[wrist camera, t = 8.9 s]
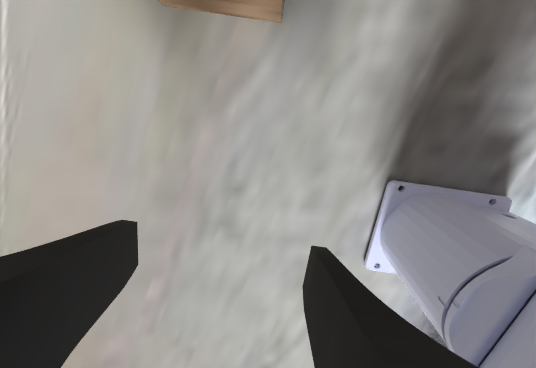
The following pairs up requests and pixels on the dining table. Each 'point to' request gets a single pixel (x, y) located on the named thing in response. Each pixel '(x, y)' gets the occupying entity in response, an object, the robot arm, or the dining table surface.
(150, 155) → the dining table surface
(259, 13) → the brown square slab
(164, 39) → the dining table surface
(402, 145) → the dining table surface
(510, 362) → the robot arm
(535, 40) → the dining table surface
